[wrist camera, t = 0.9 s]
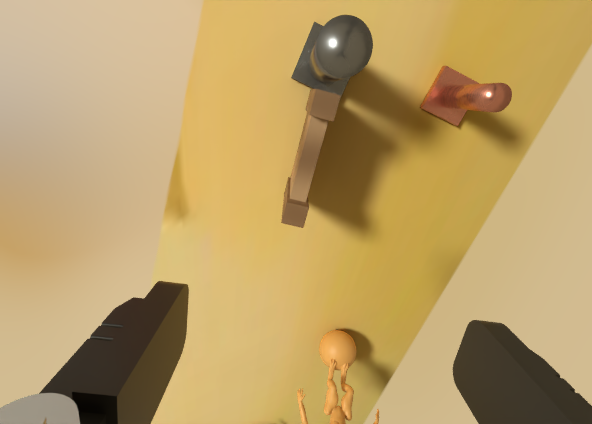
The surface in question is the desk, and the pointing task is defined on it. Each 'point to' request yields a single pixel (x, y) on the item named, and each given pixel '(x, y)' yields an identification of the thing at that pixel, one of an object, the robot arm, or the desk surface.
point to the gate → (308, 155)
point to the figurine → (337, 356)
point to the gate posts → (355, 55)
